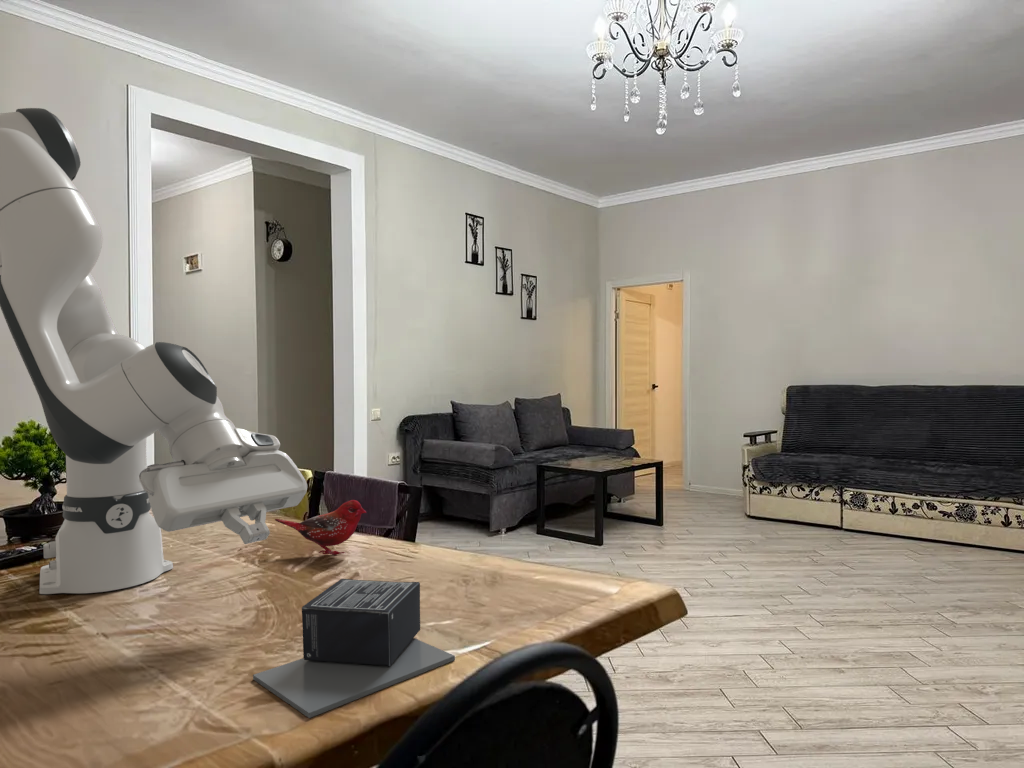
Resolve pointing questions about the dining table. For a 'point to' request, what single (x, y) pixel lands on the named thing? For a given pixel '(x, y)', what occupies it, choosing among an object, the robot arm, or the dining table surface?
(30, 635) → the dining table surface
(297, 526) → the decorative bird figurine
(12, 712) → the dining table surface
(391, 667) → the slate tile
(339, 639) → the small box
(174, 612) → the dining table surface
